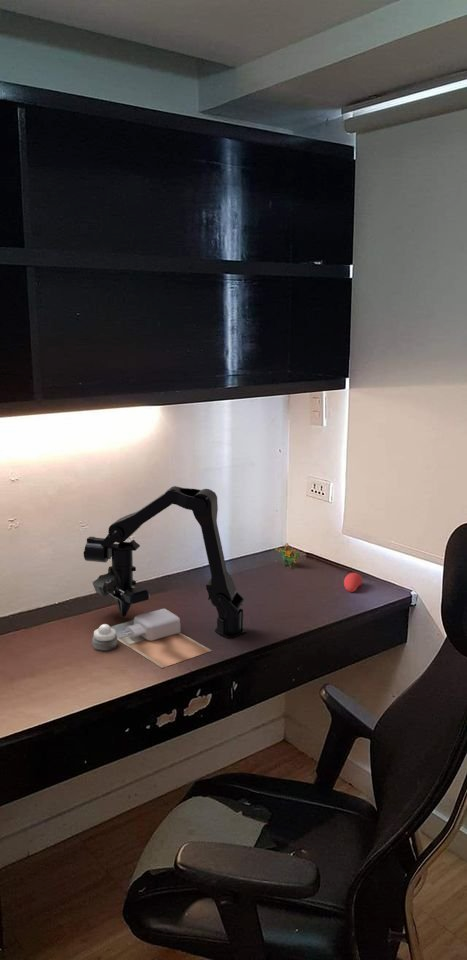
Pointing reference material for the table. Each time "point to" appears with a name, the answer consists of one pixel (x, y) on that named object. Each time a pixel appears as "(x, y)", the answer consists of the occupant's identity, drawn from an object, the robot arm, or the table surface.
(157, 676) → the table surface
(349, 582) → the stress ball
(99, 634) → the dome
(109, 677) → the table surface
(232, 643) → the table surface
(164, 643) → the game board
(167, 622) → the charger
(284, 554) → the figurine
